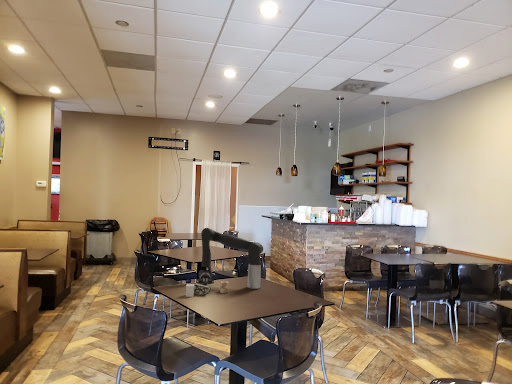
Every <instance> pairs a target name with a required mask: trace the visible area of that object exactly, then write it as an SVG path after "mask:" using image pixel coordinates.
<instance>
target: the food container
mask: <svg viewBox="0 0 512 384" xmlns="http://www.w3.org/2000/svg"><path fill="white" fill-rule="evenodd" d="M193 284H194V294H196V295H197V296H198V295H199V296H204V295H206V294H207V293H209V291H210V290H211V287H212V285H209V284H208V285H203V284H199V283H193Z"/></svg>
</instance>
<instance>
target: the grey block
mask: <svg viewBox="0 0 512 384" xmlns="http://www.w3.org/2000/svg"><path fill="white" fill-rule="evenodd" d="M194 284H195V283H192V284H191V283H187V284H186V286H185V297H188V298H189V297H191V298H194V294H195V292H194Z"/></svg>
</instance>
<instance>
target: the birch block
mask: <svg viewBox="0 0 512 384" xmlns="http://www.w3.org/2000/svg"><path fill="white" fill-rule="evenodd" d="M219 291H220V293H221V294H228V293H229V281H227V280H221V281H220V288H219Z"/></svg>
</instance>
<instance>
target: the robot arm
mask: <svg viewBox="0 0 512 384" xmlns="http://www.w3.org/2000/svg"><path fill="white" fill-rule="evenodd" d="M200 234H201V235H200V236H201V247H202V248H201V250H202V252H201V253H202V255H201V266H202V267H204V268H206V269H200V270H199V272H198V278H199V279H198V278H196V283H199V284H203V285H208V286H209V285H212V284H214V283H215V279H214V278H213V270H212V264H211V263H212V253H211V248H210V242H214V243H219V244H221V245H223V246H225V247H229V248H231V249H235V250H243V251H247V261H248V268H247V270H248V271H247V288H248V289H251V290H252V289H253V290H255V289H257V290H258V289H261V281H262V280H261V277H262V275H261V267H262V261H261V260H260V259H261V258H260V256H261V254H262V253H263V252H264V247H263V245H262V243H260V242H255V241H251V240H250V241H249V240H247V239H244V238H241V237H239V236H236V235H232V234H228V233H221V232H218V231H216V230H214V229H212V228H209V227H205V228H203V229H202V230H201V233H200ZM196 283H195V284H196Z"/></svg>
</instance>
